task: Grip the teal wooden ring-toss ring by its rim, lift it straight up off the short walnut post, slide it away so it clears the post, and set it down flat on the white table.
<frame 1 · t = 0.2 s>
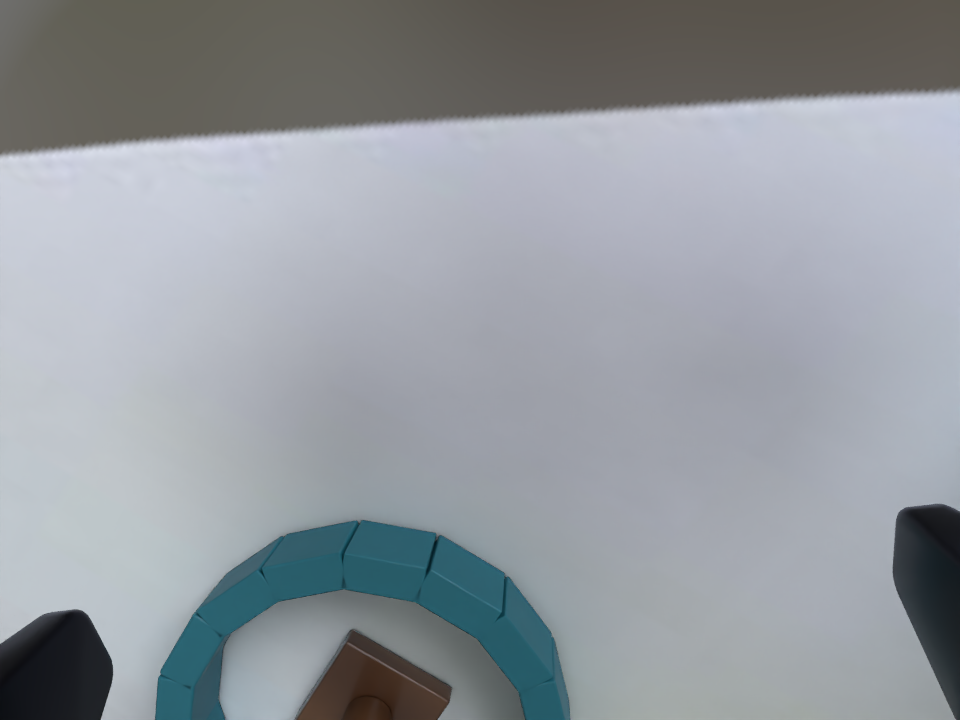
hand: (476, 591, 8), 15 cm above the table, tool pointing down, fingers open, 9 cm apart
ring: (373, 700, 26), on the table
post: (373, 700, 26), on the table
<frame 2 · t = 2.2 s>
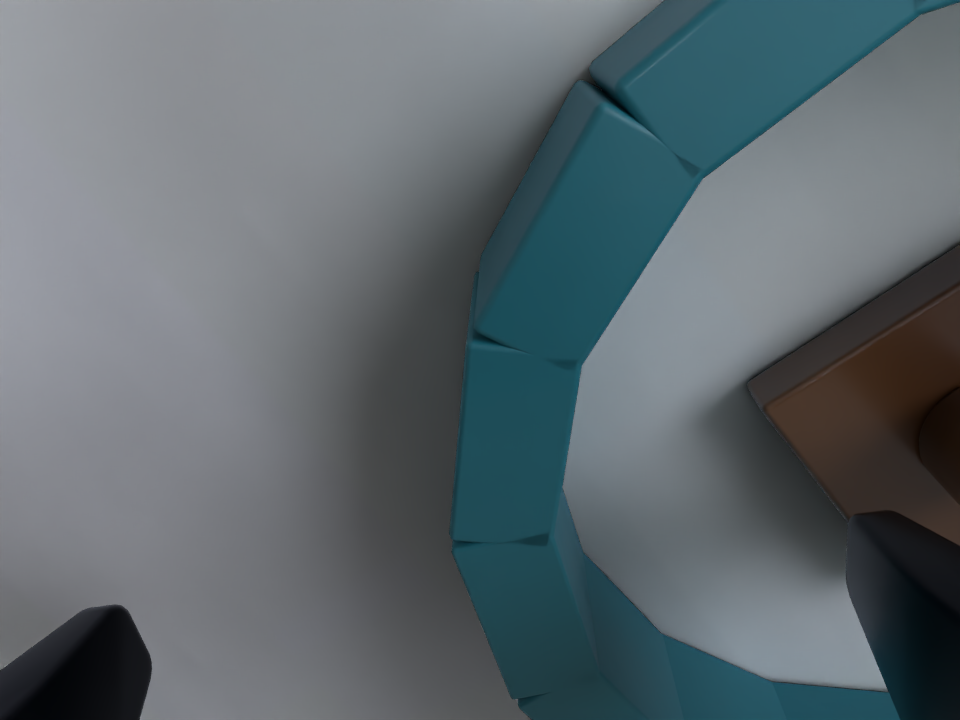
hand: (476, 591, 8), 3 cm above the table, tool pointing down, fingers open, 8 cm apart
ring: (948, 401, 10), on the table
post: (948, 401, 10), on the table
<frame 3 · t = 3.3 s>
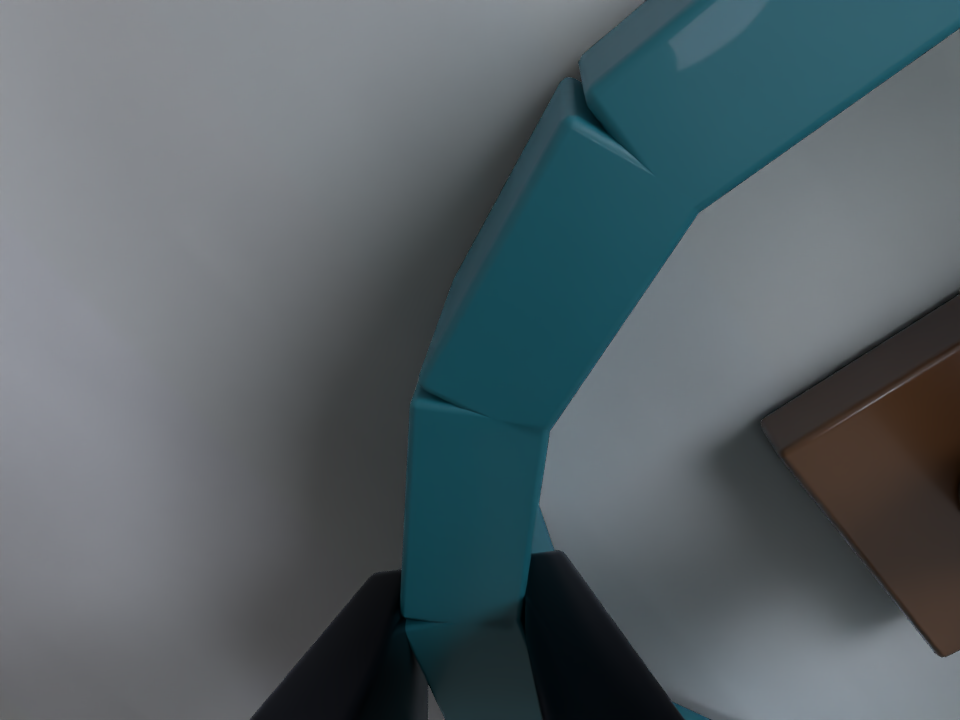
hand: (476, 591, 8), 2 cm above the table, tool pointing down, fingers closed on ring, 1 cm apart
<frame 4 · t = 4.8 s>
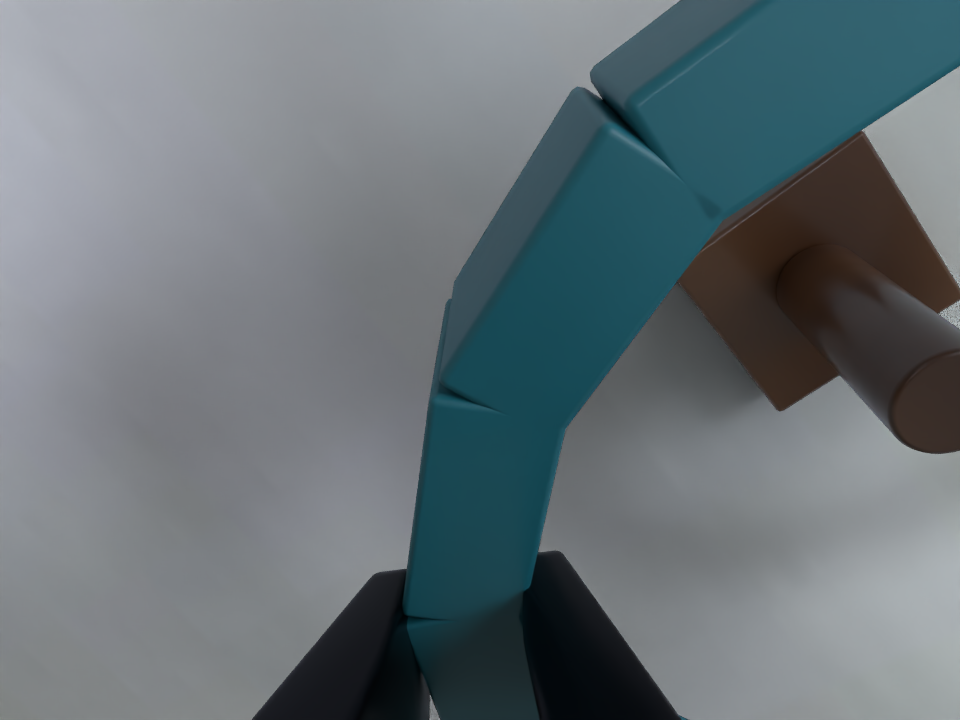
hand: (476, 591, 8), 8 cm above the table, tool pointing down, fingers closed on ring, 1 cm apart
post: (803, 270, 15), on the table
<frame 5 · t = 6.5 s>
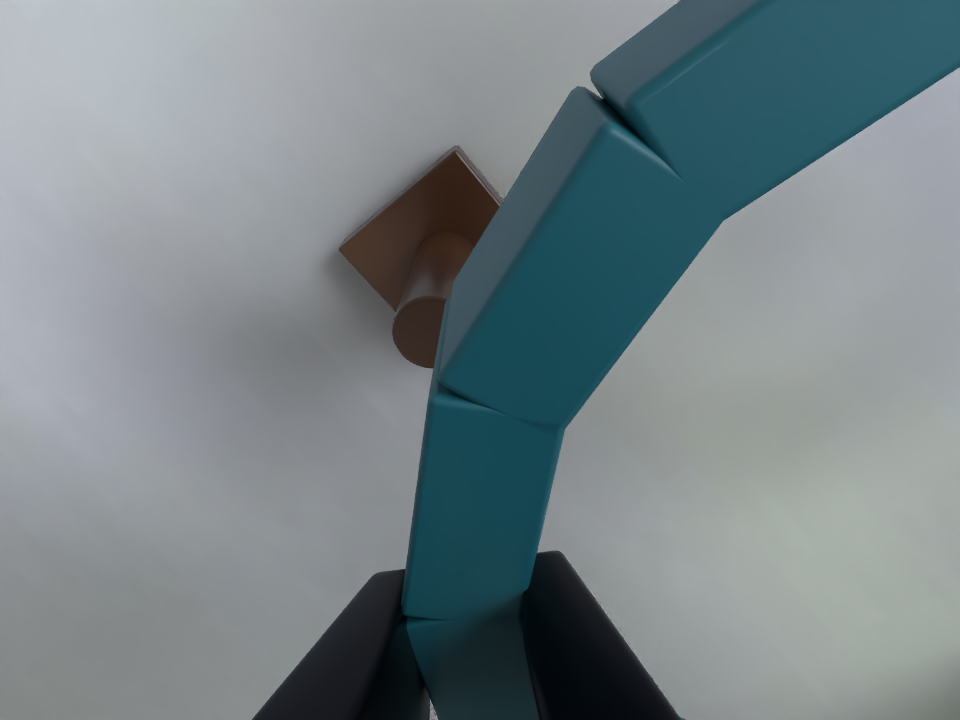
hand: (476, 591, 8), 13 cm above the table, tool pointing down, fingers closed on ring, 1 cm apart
post: (448, 251, 20), on the table
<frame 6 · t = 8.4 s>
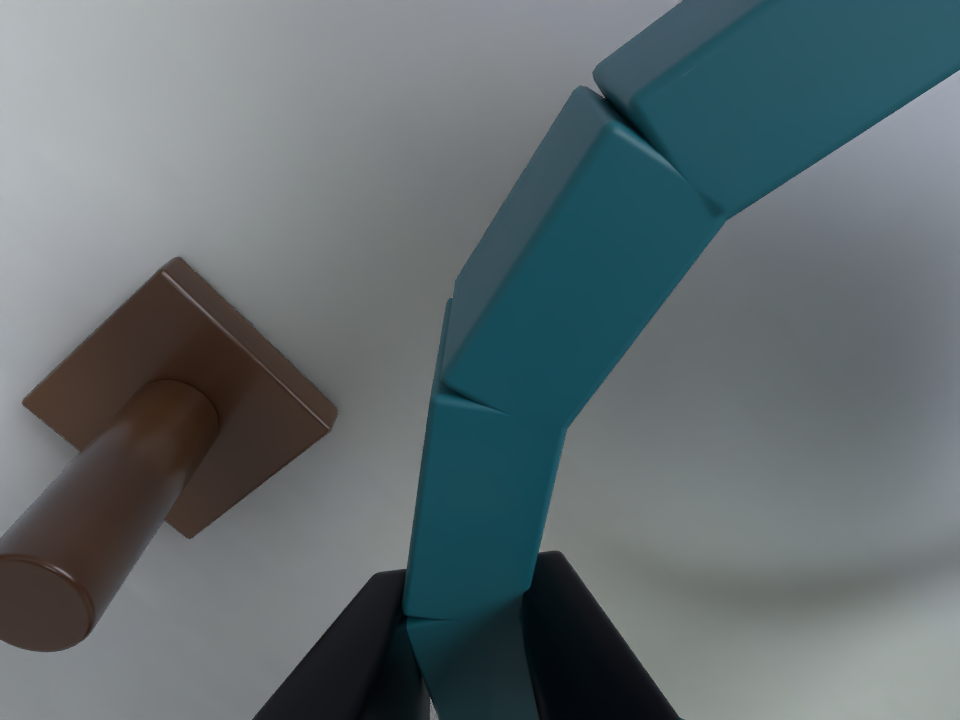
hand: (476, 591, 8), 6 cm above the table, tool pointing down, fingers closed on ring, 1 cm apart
post: (192, 396, 14), on the table
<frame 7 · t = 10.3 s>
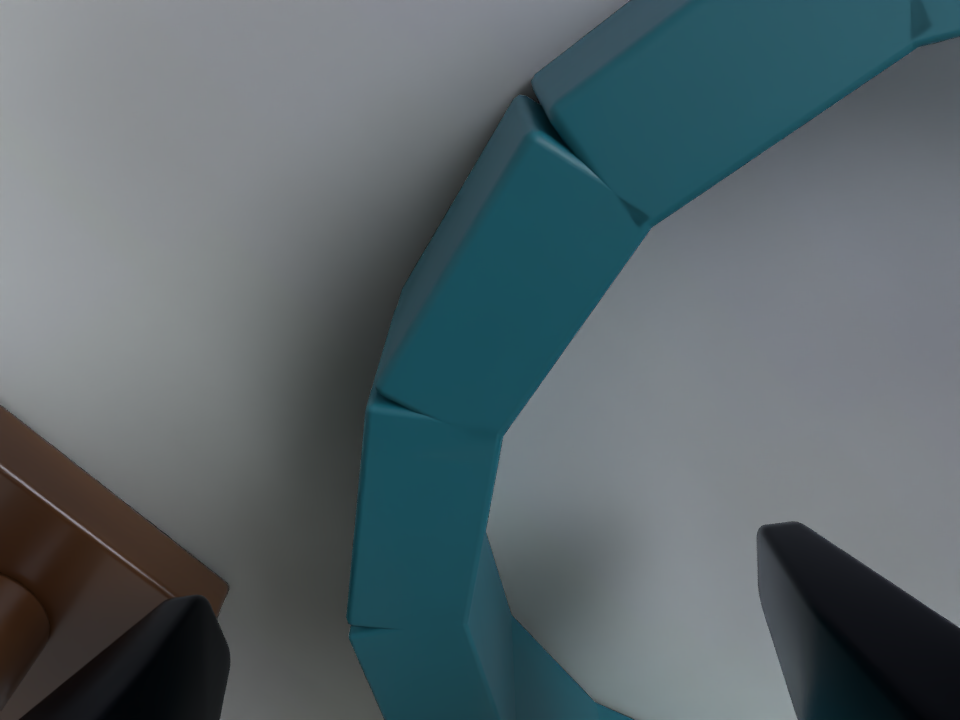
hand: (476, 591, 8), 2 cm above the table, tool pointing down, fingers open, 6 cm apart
ring: (915, 468, 9), on the table
post: (22, 570, 10), on the table
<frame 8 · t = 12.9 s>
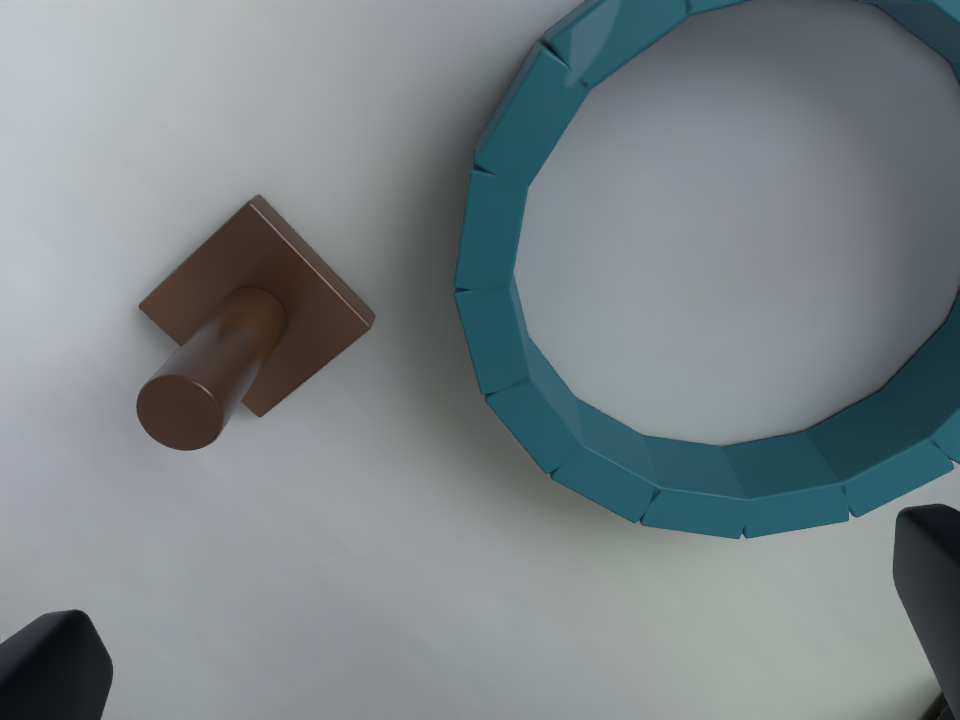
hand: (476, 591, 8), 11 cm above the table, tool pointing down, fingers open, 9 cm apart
ring: (743, 246, 18), on the table
post: (263, 305, 19), on the table
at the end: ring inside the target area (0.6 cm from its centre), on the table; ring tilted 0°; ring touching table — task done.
